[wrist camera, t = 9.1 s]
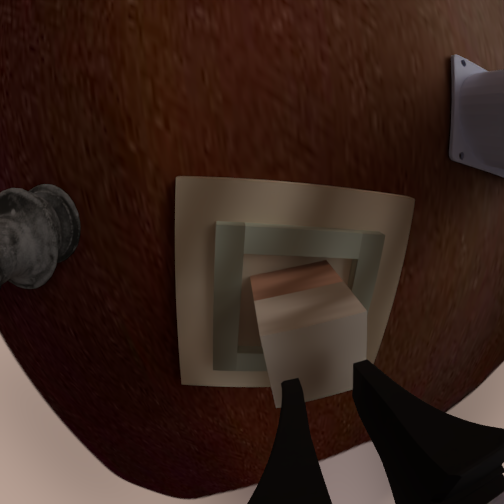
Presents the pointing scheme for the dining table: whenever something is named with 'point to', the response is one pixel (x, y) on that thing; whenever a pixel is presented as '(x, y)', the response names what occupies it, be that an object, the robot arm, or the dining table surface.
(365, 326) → the brown and beige block
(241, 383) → the pocket board
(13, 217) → the dark grey chess piece
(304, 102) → the dining table surface
